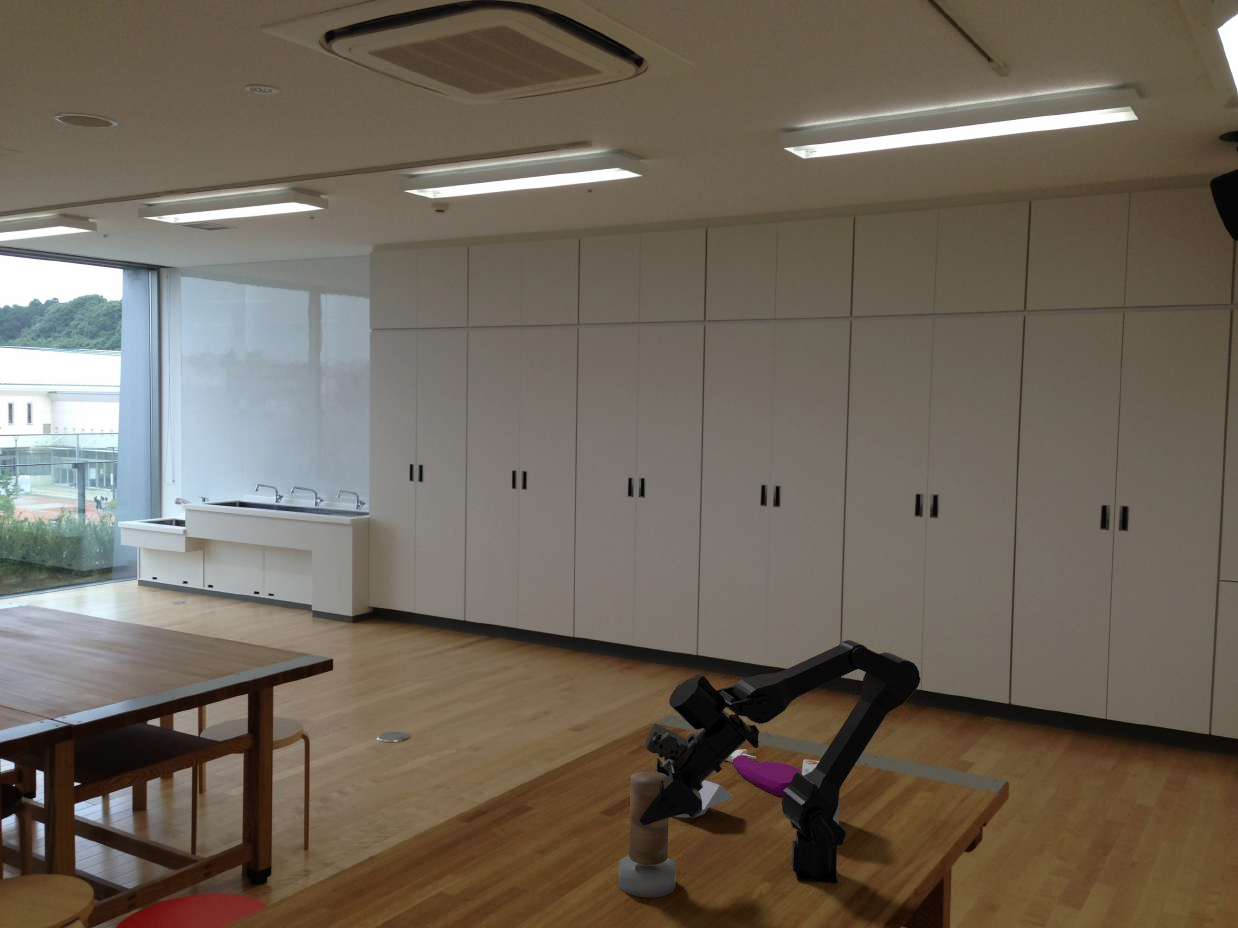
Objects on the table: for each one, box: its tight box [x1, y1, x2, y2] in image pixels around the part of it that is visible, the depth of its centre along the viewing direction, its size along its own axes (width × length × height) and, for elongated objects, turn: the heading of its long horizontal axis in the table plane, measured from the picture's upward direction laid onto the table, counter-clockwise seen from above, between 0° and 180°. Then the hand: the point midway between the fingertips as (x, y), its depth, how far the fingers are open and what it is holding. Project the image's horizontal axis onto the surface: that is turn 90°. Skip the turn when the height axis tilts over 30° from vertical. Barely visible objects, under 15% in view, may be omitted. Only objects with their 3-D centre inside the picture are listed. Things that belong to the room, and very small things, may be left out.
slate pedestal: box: [617, 855, 677, 899], centre depth 161 cm, size 9×9×3 cm
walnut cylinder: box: [628, 770, 669, 865], centre depth 161 cm, size 6×6×12 cm
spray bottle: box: [725, 748, 802, 798], centre depth 212 cm, size 3×11×24 cm
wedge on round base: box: [674, 779, 735, 819], centre depth 191 cm, size 9×7×13 cm
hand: (640, 814), depth 161 cm, fingers closed on walnut cylinder, 6 cm apart
